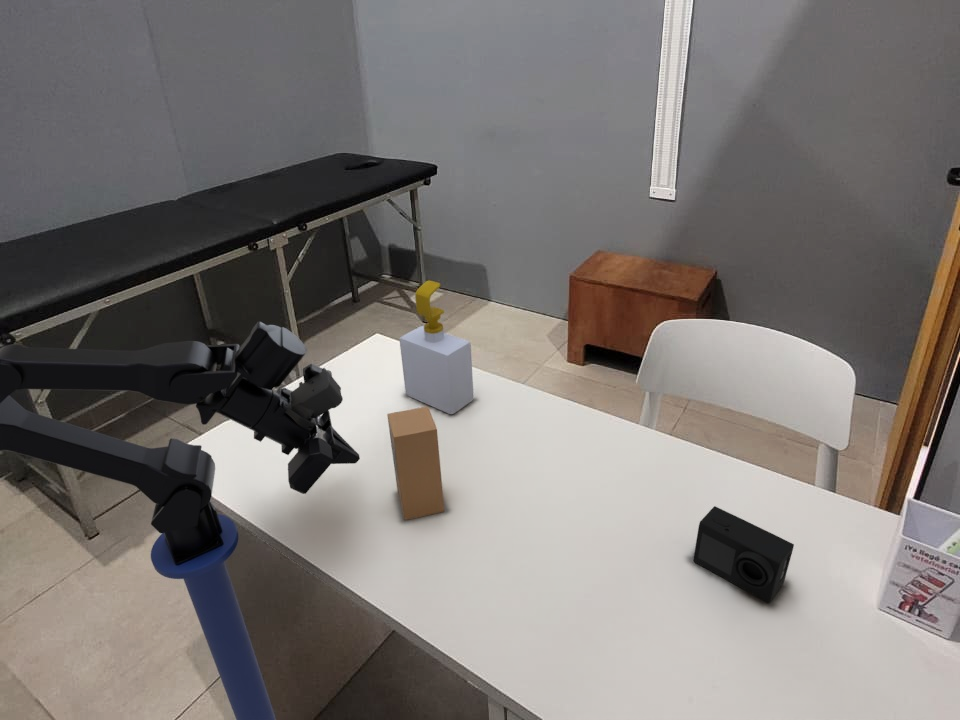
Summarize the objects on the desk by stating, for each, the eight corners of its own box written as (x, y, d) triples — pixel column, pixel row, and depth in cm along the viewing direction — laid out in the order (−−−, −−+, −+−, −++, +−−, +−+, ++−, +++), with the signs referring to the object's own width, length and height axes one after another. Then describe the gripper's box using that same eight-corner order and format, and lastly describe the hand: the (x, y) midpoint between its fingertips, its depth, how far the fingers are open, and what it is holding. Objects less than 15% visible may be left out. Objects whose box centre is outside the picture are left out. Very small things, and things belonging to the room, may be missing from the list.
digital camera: (687, 566, 85) (693, 526, 82) (707, 543, 89) (714, 504, 85) (765, 610, 79) (775, 569, 75) (783, 583, 82) (794, 543, 79)
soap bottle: (475, 400, 122) (469, 285, 111) (452, 416, 118) (443, 298, 106) (427, 381, 129) (417, 270, 118) (404, 395, 125) (391, 282, 113)
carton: (404, 520, 95) (393, 437, 87) (397, 494, 100) (386, 413, 93) (444, 511, 96) (437, 428, 89) (436, 486, 101) (428, 405, 94)
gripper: (299, 400, 74) (404, 458, 82) (295, 331, 90) (383, 384, 98) (243, 469, 76) (351, 518, 84) (248, 389, 92) (338, 437, 100)
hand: (357, 459), depth 91 cm, fingers closed
